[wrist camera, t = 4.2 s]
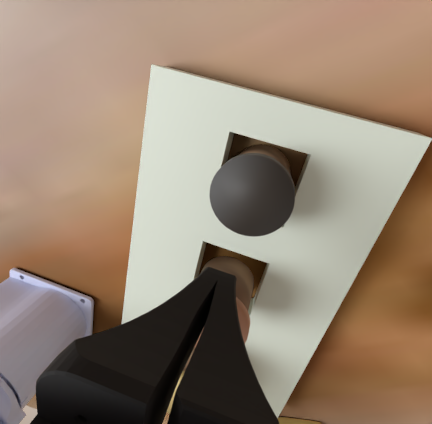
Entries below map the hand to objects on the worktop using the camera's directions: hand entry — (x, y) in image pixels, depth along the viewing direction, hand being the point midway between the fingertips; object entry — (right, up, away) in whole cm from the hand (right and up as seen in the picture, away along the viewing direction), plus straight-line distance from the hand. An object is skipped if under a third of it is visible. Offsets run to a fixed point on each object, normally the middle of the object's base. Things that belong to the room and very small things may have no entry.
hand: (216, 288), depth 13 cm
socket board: (+1, -1, +11) cm, 11 cm away
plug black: (+3, +6, +7) cm, 10 cm away
